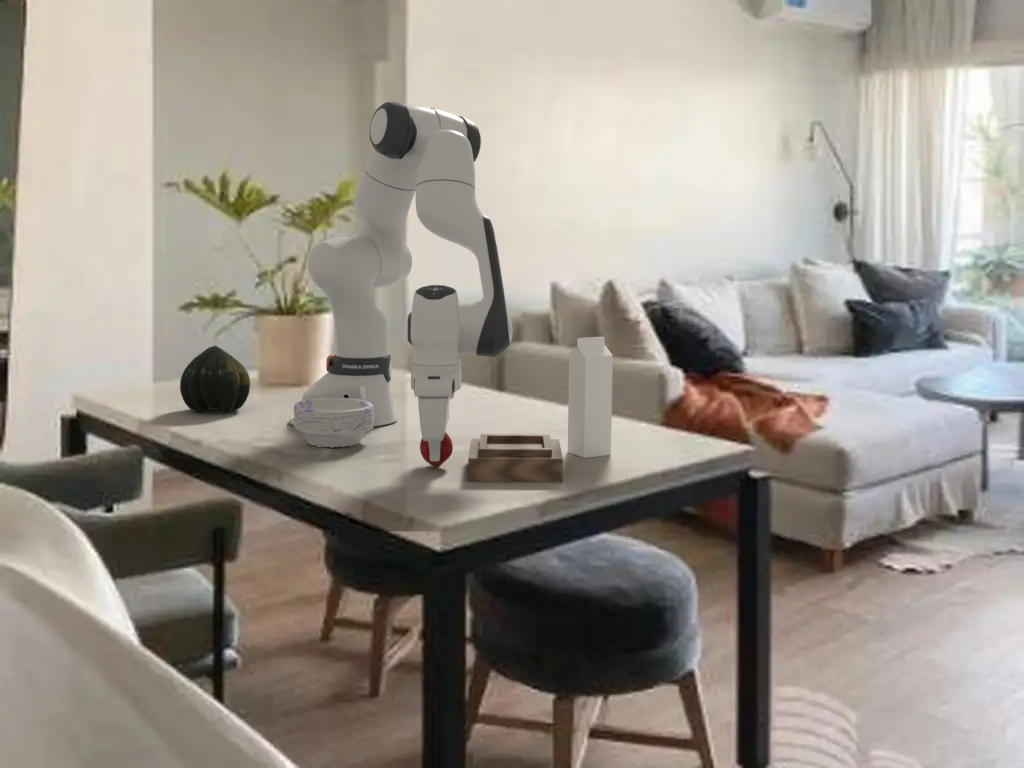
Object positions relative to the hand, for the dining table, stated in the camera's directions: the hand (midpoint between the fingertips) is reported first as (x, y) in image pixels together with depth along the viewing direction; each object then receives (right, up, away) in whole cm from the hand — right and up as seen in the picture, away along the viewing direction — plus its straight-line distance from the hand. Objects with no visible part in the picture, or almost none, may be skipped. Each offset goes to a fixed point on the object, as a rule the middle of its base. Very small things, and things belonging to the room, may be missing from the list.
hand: (436, 455), depth 211 cm
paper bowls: (-21, +1, +20) cm, 29 cm away
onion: (0, -2, 0) cm, 2 cm away
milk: (+28, -1, +12) cm, 31 cm away
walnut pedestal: (+14, -3, -2) cm, 14 cm away
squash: (-52, +7, +52) cm, 74 cm away
